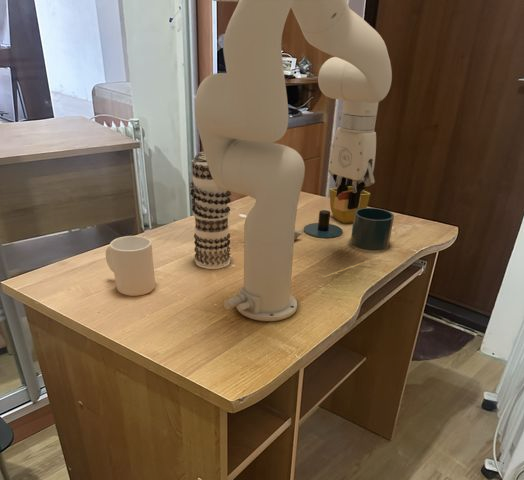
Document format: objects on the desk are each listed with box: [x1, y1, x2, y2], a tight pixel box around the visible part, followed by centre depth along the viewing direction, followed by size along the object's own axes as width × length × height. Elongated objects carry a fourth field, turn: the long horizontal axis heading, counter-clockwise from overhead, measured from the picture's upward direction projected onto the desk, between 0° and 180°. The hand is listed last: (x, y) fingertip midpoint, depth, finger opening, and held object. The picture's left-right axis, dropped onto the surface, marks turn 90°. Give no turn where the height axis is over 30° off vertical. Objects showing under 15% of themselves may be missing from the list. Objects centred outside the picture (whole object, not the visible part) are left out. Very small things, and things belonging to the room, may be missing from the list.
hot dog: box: [334, 190, 361, 211], centre depth 117 cm, size 6×3×4 cm, turn 130°
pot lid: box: [303, 209, 343, 239], centre depth 136 cm, size 11×11×6 cm
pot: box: [350, 207, 395, 252], centre depth 129 cm, size 10×10×8 cm
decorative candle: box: [189, 151, 232, 270], centre depth 112 cm, size 9×9×25 cm
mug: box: [105, 235, 156, 297], centre depth 104 cm, size 12×8×10 cm
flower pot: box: [329, 185, 371, 224], centre depth 144 cm, size 9×9×9 cm
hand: (346, 205), depth 118 cm, fingers closed on hot dog, 3 cm apart
